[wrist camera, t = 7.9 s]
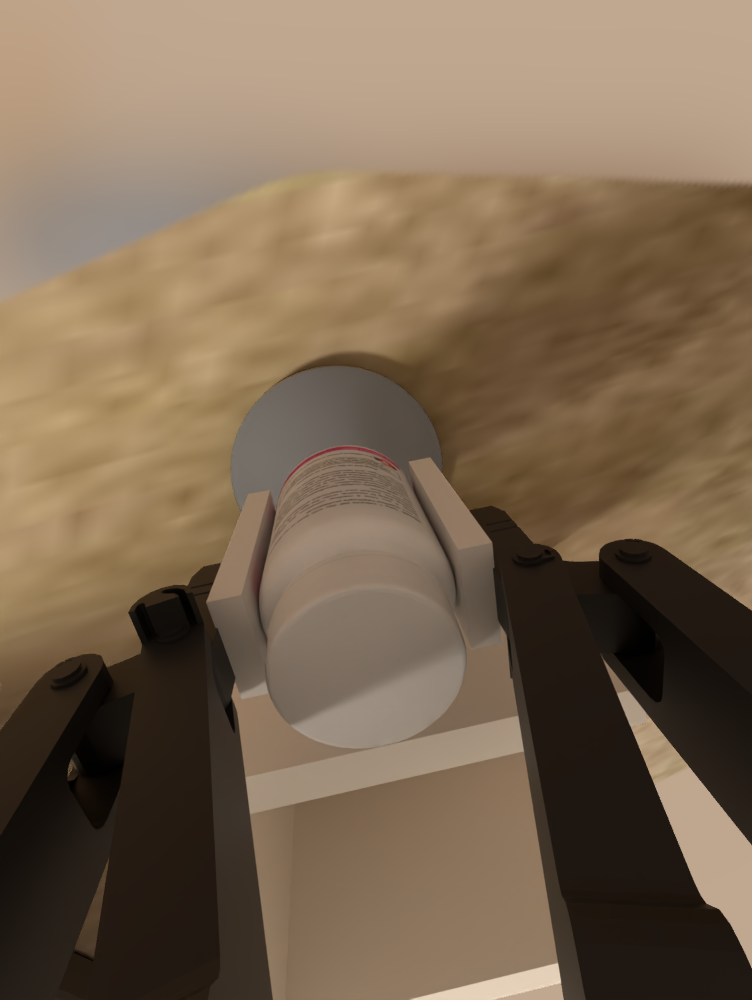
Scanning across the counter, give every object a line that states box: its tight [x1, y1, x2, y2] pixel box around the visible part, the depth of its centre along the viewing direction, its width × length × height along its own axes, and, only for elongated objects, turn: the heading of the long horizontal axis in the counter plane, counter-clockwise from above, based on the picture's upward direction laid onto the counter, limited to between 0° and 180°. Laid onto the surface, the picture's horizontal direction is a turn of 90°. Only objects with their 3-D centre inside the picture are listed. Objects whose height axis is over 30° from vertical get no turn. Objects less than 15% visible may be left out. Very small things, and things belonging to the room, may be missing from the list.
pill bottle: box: [259, 445, 467, 748], centre depth 13 cm, size 5×5×8 cm
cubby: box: [232, 612, 647, 1000], centre depth 22 cm, size 16×15×10 cm
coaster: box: [231, 365, 442, 511], centre depth 21 cm, size 9×9×1 cm
